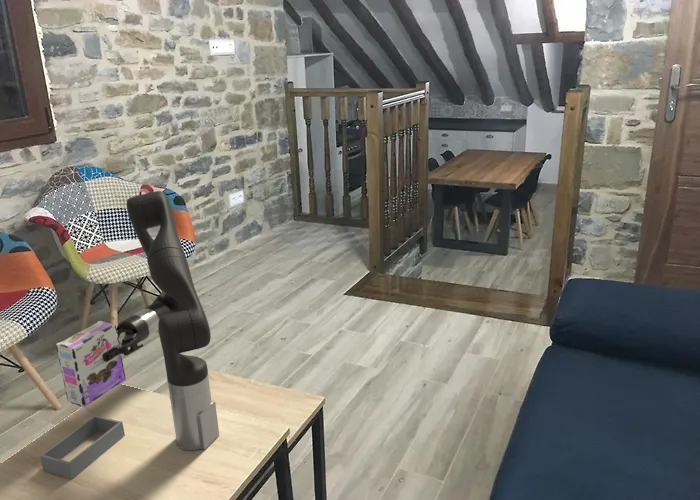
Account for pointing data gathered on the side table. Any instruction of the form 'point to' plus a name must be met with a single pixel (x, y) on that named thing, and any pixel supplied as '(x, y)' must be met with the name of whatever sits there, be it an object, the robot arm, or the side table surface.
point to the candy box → (90, 363)
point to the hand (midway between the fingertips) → (94, 356)
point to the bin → (74, 439)
